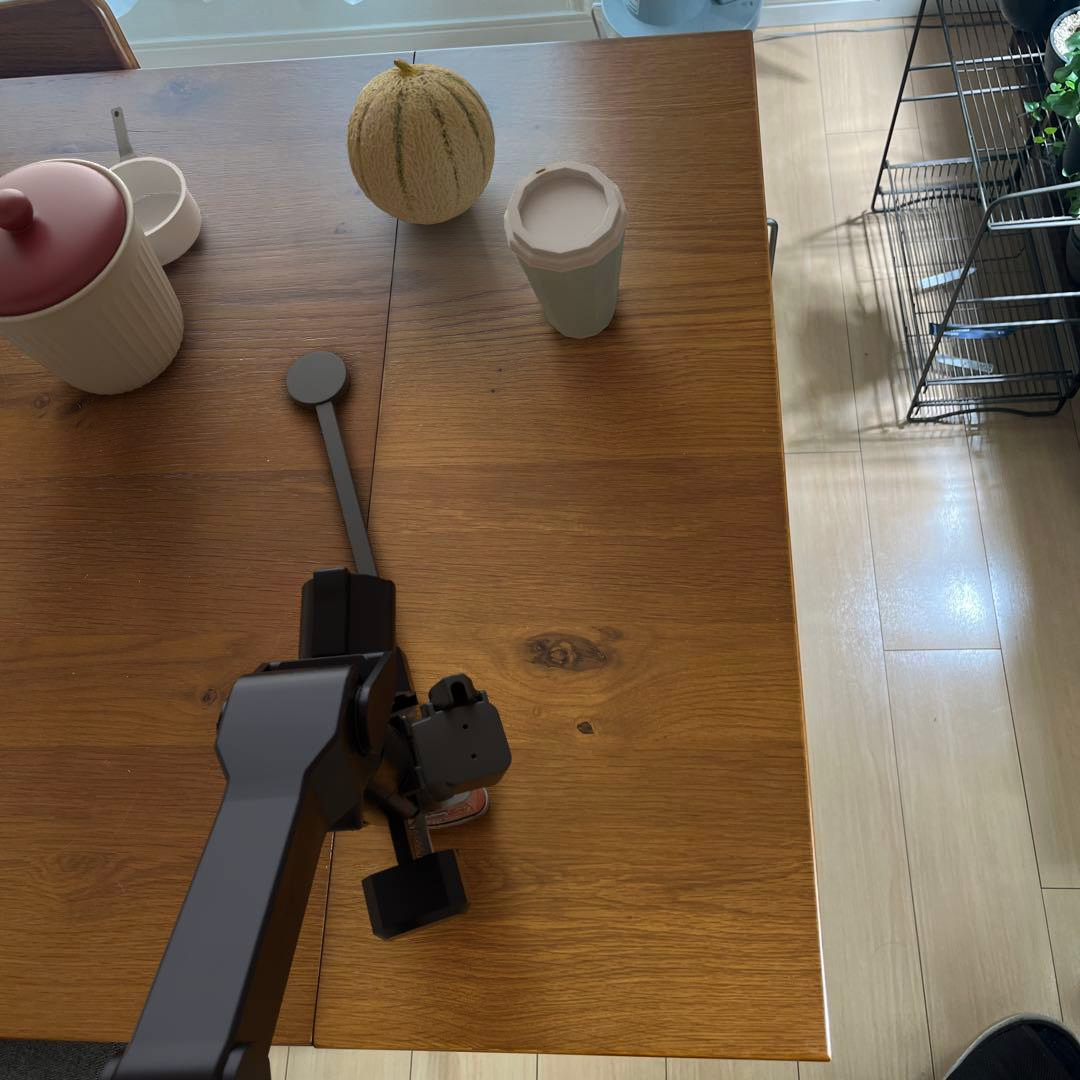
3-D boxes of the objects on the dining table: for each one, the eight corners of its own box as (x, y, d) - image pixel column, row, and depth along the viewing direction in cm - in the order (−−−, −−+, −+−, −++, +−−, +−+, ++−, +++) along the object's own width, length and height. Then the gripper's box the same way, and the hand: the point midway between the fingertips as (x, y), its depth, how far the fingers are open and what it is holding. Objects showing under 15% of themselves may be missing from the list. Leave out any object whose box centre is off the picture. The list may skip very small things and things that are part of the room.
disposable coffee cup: (653, 329, 92) (651, 217, 78) (553, 378, 91) (533, 273, 77) (602, 254, 96) (591, 136, 82) (506, 300, 95) (479, 188, 82)
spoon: (448, 729, 78) (445, 725, 77) (378, 753, 78) (373, 750, 77) (342, 350, 95) (338, 343, 94) (284, 369, 95) (280, 362, 94)
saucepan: (188, 131, 110) (165, 90, 105) (217, 257, 102) (194, 219, 97) (92, 163, 110) (65, 124, 105) (114, 292, 102) (85, 256, 97)
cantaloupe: (407, 277, 98) (365, 165, 84) (347, 188, 104) (299, 70, 90) (532, 210, 99) (511, 90, 86) (466, 127, 106) (437, 2, 92)
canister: (227, 272, 101) (125, 108, 82) (197, 420, 94) (77, 278, 74) (66, 282, 103) (-70, 125, 84) (25, 427, 96) (-135, 291, 77)
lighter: (390, 835, 75) (352, 816, 66) (387, 791, 76) (350, 767, 67) (491, 820, 75) (467, 799, 66) (487, 777, 76) (463, 750, 67)
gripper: (532, 874, 54) (560, 894, 68) (446, 583, 62) (486, 655, 76) (343, 940, 53) (410, 947, 68) (280, 639, 61) (352, 702, 75)
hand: (419, 804), depth 72 cm, fingers open, 9 cm apart
